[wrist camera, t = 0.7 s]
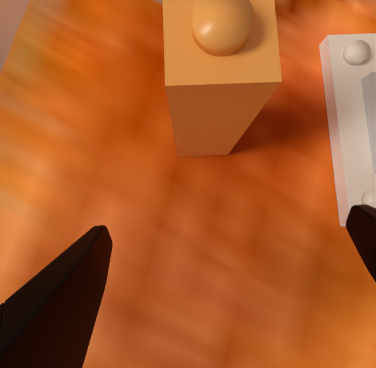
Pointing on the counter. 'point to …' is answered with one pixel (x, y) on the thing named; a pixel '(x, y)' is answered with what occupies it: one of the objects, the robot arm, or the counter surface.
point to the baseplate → (351, 116)
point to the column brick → (218, 70)
